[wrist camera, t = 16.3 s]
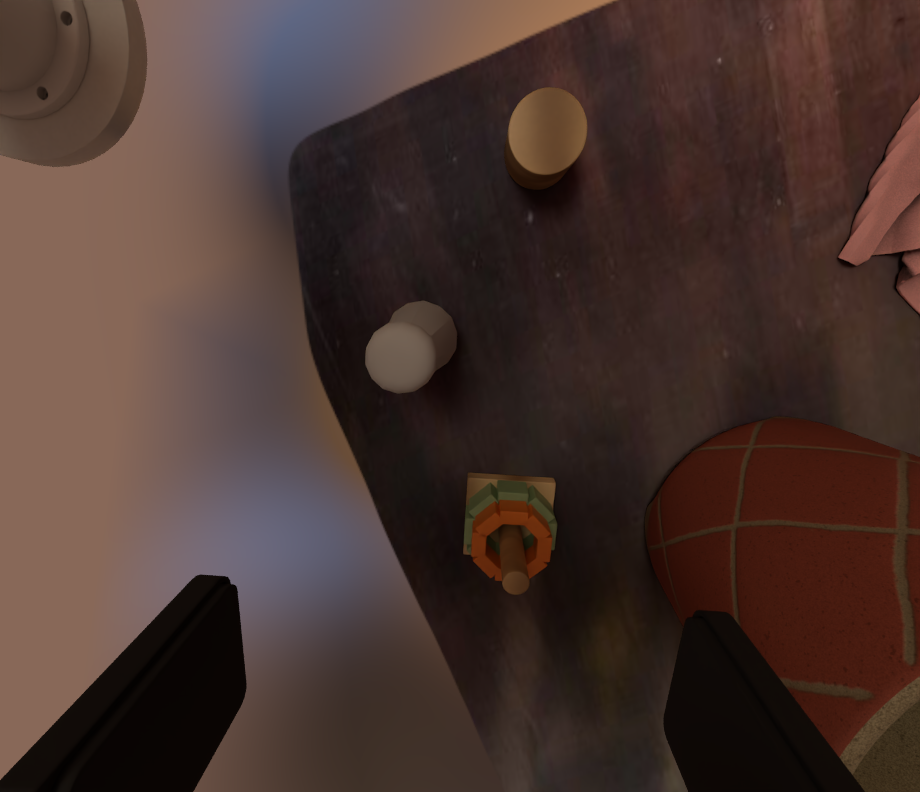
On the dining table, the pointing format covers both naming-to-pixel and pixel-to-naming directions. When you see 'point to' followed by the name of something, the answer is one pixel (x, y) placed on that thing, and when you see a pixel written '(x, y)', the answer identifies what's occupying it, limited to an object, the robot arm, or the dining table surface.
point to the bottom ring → (508, 492)
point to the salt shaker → (411, 347)
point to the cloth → (893, 209)
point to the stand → (544, 137)
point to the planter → (809, 575)
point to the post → (511, 529)
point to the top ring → (510, 515)
